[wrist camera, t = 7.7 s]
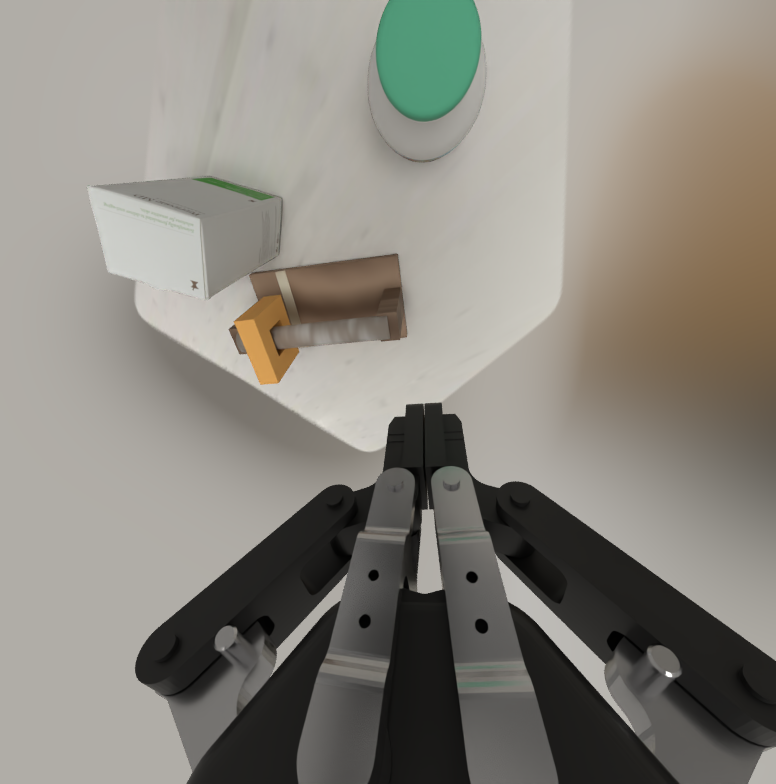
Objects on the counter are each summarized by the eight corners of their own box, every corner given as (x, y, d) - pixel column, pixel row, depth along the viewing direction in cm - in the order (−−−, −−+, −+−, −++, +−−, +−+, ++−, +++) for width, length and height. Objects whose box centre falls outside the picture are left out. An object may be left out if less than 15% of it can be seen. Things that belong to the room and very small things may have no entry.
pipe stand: (252, 272, 40) (207, 301, 32) (397, 253, 38) (390, 279, 29) (278, 346, 46) (246, 387, 37) (407, 334, 43) (403, 375, 35)
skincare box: (284, 198, 35) (206, 216, 23) (279, 259, 39) (210, 305, 26) (205, 173, 35) (80, 178, 22) (209, 239, 38) (103, 276, 26)
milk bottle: (388, 46, 28) (341, -118, 12) (477, 59, 28) (554, -88, 12) (379, 156, 33) (336, 148, 16) (456, 167, 33) (490, 170, 16)
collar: (263, 296, 36) (233, 321, 30) (280, 294, 36) (253, 319, 30) (283, 353, 40) (260, 384, 34) (299, 351, 40) (278, 383, 34)
